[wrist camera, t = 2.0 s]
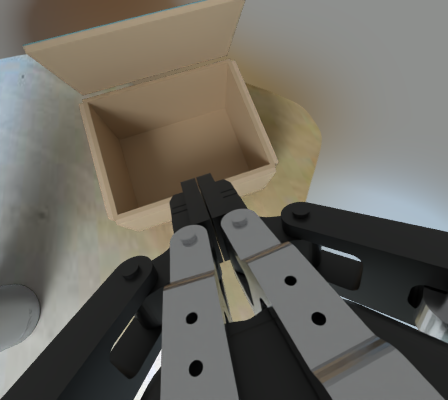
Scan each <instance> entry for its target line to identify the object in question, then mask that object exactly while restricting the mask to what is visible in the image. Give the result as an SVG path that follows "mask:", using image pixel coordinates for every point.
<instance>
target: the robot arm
mask: <svg viewBox="0 0 448 400" xmlns="http://www.w3.org/2000/svg"><path fill="white" fill-rule="evenodd" d="M196 179H197V182H196V180H195V178H192V179H189V180H186V181H183V182H180V183H181V187H182V191H183V192H181V193H178V194H175V195H173V196H172V198H171V200H170V202H169V203H170V209H171V217H172V224H173V231H174V235H173V236H172V238H171V240H170V248H169V249H168V250H167V251H166V252H164V253H163V254H162V255H160V256H158V257H157V258H155V259H154V260H152V261H151V260H150V259H149V258H148V257H146V256H136V257H132V258H130V259H128V260H126V261H124V262H123V263H122V264H120V265H119V266H118V267H117V268H116V269H115V270H114V272H113V273H112V274H111V275H110V276H109V277H108V278H107V279H106V281H105V282H104V283H103V284H102V285H101V286H100V287H99V289H98V290H97V291H96V292H95V293H94V294H93V295H92V296H91V298H90V299H89V300H88V301H87V302H86V303H85V304H84V305H83V307H82V308H81V309H80V310H79V311H78V312H77V313H76V315H75V316H74V317H73V318H72V319H71V320H70V321H69V322H68V324H67V325H66V326H65V327H64V328H63V329H62V330H61V332H60V333H59V334H58V335H57V336H56V337H55V338H54V339H53V341H52V342H51V343H50V344H49V345H48V346H47V347H46V349H45V350H44V351H43V352H42V353H41V354H40V355H39V356H38V358H37V359H36V360H35V361H34V362H33V363H32V364H31V365H30V367H29V368H28V369H27V370H26V371H25V372H24V373H23V375H22V376H21V377H20V378H19V379H18V380H17V381H16V382H15V384H14V385H13V386H12V387H11V388H10V389H9V390H8V392H7V393H6V394H5V395H4V396H3V397H2V398H1V399H0V400H134V398H135V396H136V394H137V392H138V391H139V389H140V387H141V385H142V383H143V381H144V380H145V378H146V376H147V374H148V372H149V371H150V369H151V367H152V365H153V363H154V361H155V360H156V358H157V356H158V354H159V352H160V351H161V349H162V355H161V367H160V368H159V370H158V371H157V372H156V374H155V375H154V376H153V378H152V380H151V381H150V383H149V384H148V386H147V388H146V390H145V392H144V394H143V396H142V398H141V400H448V232H445V231H440V230H436V229H431V228H426V227H422V226H417V225H412V224H407V223H403V222H398V221H393V220H388V219H383V218H379V217H374V216H369V215H364V214H360V213H355V212H350V211H346V210H341V209H336V208H331V207H326V206H321V205H317V204H312V203H307V202H296V203H292V204H289V205H287V206H286V207H284V209H283V210H282V212H281V216H277V217H259V216H258V215H257V214H256V213H255V212H254V211H252V210H249V209H247V207H246V205H245V204H244V202H243V201H242V199H241V198H240V196H239V195H238V193H237V191H236V190H235V189H234V187H233V185H232V184H231V182H229V181H227V180H225V179H222V180H219V181H216V182H215V181H214V179H213V177H212V175H211V173H208V174H205V175H202V176H198V177H196ZM197 183H198V185H197ZM198 186H199V188H198ZM199 189H200V190H199ZM200 192H201V193H200ZM217 241H218V242H217ZM218 244H219V246H218ZM321 246H325V247H328V248H331V249H334V250H338V251H341V252H344V253H348V254H351V255H354V256H356V257H357V258H359V259H360V260H361V262H360V261H356V260H353V259H350V258H347V257H343V256H340V255H337V254H333V253H331V252H327V251H324V250H321ZM219 247H220V249H221V252H222V255H223V257H224V260H225V261H227V260H230V261H231V263H232V266H233V269H234V273H235V276H236V278H237V280H238V282H239V284H240V286H241V288H242V290H243V292H244V294H245V296H246V298H247V300H248V302H249V304H250V306H251V308H252V310H253V312H254V314H255V316H254V317H252V318H251V319H249V320H245V321H238V322H233V321H232V317H231V313H230V308H229V304H228V300H227V295H226V291H225V287H224V282H223V279H222V270H221V267H220V264H219V263H222V262H223V259H222V256H221V252H220V249H219ZM340 296H342V297H344V298H347V299H349V300H352V301H354V302H352V301H349V300H345V299H342V298H341V297H340ZM355 302H356V303H355ZM357 303H359V304H357ZM360 304H361V305H360ZM362 305H364V306H366V307H364V306H362ZM367 307H369V308H371V309H374V310H377V311H379V312H381V313H384V314H386V315H389V316H391V317H394V318H396V319H399V320H401V321H404V322H406V323H408V324H411V325H413V326H416V327H417V328H418V330H416V329H414V328H412V327H410V326H408V325H405V324H403V323H401V322H398V321H396V320H394V319H392V318H389V317H387V316H384V315H382V314H380V313H378V312H376V311H373V310H371V309H369V308H367ZM39 314H40V306H39V301H38V299H37V297H36V295H35V294H34V293H33V291H32V290H30V289H29V288H27V287H25V286H23V285H17V284H16V285H5V286H0V352H1V351H3V350H5V349H8V348H10V347H12V346H14V345H16V344H18V343H20V342H22V341H23V340H25V339H26V338H27V337H28V336H29V335H30V334H31V333H32V331H33V330H34V328H35V326H36V324H37V322H38V319H39ZM133 316H135V317H134V319H133V320H132V322H131V323H130V325H129V326H128V328H127V329H126V330H125V332H124V333H123V335H122V336H121V338H120V339H119V341H118V342H117V343H116V345H115V346H114V348H113V349H112V347H113V345H114V343H115V342H116V340H117V339H118V337H119V336H120V335H121V333H122V332H123V330H124V329H125V327H126V326H127V325H128V323H129V322H130V320H131V319H132V317H133ZM111 349H112V351H111Z"/></svg>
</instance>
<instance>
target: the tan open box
mask: <svg viewBox="0 0 448 400" xmlns="http://www.w3.org/2000/svg"><path fill="white" fill-rule="evenodd" d="M82 102H83V103H80V104H79V108H80V112H81V116H82V119H83V123H84V127H85V131H86V135H87V139H88V143H89V146H90V150H91V154H92V158H93V162H94V166H95V169H96V173H97V177H98V181H99V185H100V189H101V193H102V196H103V200H104V204H105V208H106V212H107V216H108V219H110V220H113V221H116V224H117V225H119V226H122V227H125V228H129V229H132V230H135V231H142V230H145V229H148V228H151V227H154V226H157V225H160V224H163V223H166V222H169V221H172V217H171V209H170V203H169V202H170V200H171V198H172V196H173V195H175V194H178V193H181V192H183V191H182V187H181V183H180V182H183V181H186V180H189V179H192V178H195V180H196V182H197V179H196V177H198V176H202V175H205V174H208V173H211V175H212V177H213V179H214V181H215V182H216V181H219V180H222V179H225V180H227V181H229V182H231V184H232V185H233V187H234V189H235V190H236V191H237V193H238V195H239V196H240V197H241V196H244V195H247V194H250V193H253V192H256V191H259V190H262V189H264V188H265V186H266V185H267V183H268V182H269V181H270V179H271V178H272V177H273V175H274V174H275V172H276V169H275V167H276V165H277V164H278V162H279V161H278V159H277V157H276V154H275V152H274V150H273V147H272V145H271V143H270V140H269V138H268V136H267V133H266V131H265V129H264V126H263V124H262V122H261V119H260V117H259V115H258V112H257V110H256V108H255V105H254V103H253V101H252V98H251V96H250V94H249V91H248V89H247V87H246V84H245V82H244V80H243V77H242V75H241V73H240V70H239V68H238V66H237V63H236V61H235V60H234V61H231V59H227V60H223V61H219V62H216V63H212V64H208V65H205V66H201V67H198V68H194V69H191V70H187V71H184V72H180V73H176V74H173V75H169V76H165V77H162V78H158V79H155V80H151V81H148V82H144V83H140V84H137V85H133V86H130V87H126V88H122V89H119V90H115V91H112V92H108V93H104V94H101V95H97V96H94V97H90V98H87V99H83V100H82ZM197 185H198V183H197ZM198 188H199V186H198ZM199 190H200V189H199ZM200 193H201V192H200Z"/></svg>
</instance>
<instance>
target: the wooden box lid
mask: <svg viewBox="0 0 448 400" xmlns="http://www.w3.org/2000/svg"><path fill="white" fill-rule="evenodd" d="M244 3H245V0H202V1H198V2H194V3H190V4H186V5H182V6H178V7H174V8H170V9H166V10H162V11H158V12H154V13H150V14H145V15H141V16H138V17H133V18H129V19H126V20H122V21H117V22H113V23H109V24H106V25H101V26H97V27H93V28H90V29H85V30H82V31H77V32H73V33H69V34H65V35H62V36H58V37H54V38H49V39H45V40H41V41H37V42H34V43H29V44H25V45H23V47H24V50H25V52H26V54H28V55H29V56H30V57H32V58H33V59H34V60H36V61H37V62H38V63H40V64H41V65H42V66H44V67H45V68H47V69H48V70H49V71H51V72H52V73H53V74H55V75H56V76H57V77H59V78H60V79H61V80H63V81H64V82H65V83H67V84H68V85H70V86H71V87H72V88H74V89H75V90H76V91H78V92H79V93H80V94H82V95H86V94H90V93H93V92H97V91H100V90H104V89H108V88H111V87H115V86H118V85H122V84H126V83H129V82H133V81H136V80H140V79H144V78H147V77H151V76H155V75H158V74H162V73H165V72H169V71H172V70H176V69H180V68H183V67H187V66H190V65H194V64H198V63H201V62H204V61H209V60H212V59H216V58H219V57H223V56H227V54H228V51H229V48H230V45H231V42H232V39H233V36H234V33H235V30H236V27H237V24H238V21H239V18H240V15H241V12H242V9H243V6H244Z"/></svg>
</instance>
